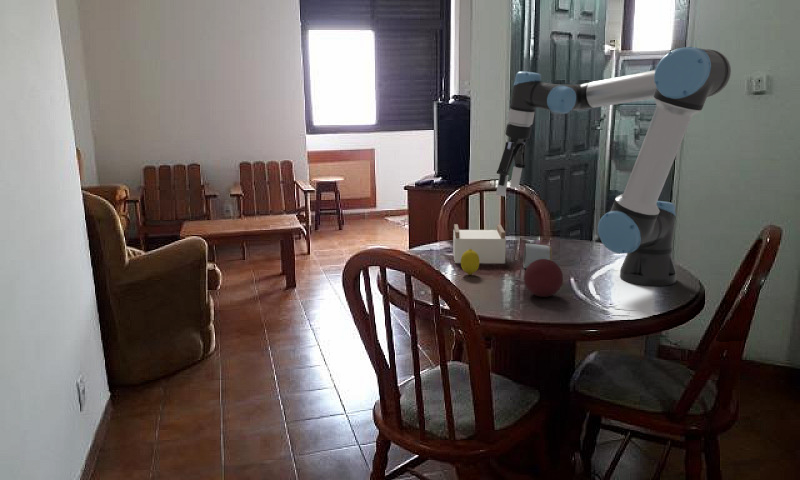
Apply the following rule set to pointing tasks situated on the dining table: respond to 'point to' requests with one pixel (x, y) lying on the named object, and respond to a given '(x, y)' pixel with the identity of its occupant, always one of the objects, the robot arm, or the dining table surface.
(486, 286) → the dining table surface
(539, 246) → the ceramic mug
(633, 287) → the dining table surface
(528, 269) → the decorative ball
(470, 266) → the lemon
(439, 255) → the dining table surface
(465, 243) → the display stand
